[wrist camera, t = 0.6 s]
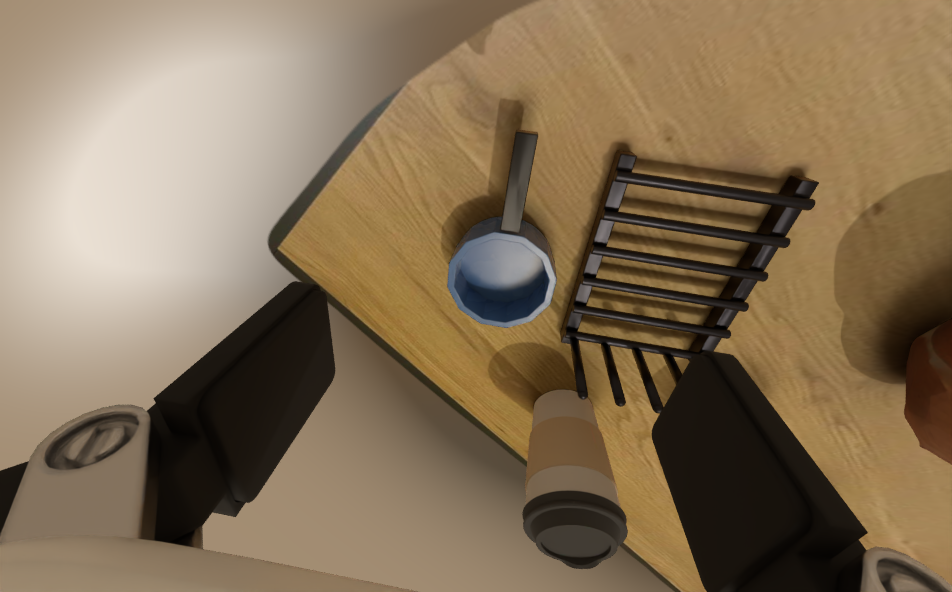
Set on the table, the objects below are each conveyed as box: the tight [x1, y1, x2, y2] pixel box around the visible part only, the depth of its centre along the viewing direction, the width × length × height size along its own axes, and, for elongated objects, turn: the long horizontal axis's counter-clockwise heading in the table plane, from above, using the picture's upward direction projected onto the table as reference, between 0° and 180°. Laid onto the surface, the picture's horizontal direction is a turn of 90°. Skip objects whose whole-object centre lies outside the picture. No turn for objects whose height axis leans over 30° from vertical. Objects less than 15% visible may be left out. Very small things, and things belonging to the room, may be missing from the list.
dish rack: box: [560, 150, 819, 413], centre depth 28 cm, size 18×14×9 cm
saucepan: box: [447, 129, 557, 328], centre depth 30 cm, size 16×9×4 cm, turn 174°
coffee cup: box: [523, 390, 628, 569], centre depth 36 cm, size 9×9×15 cm
